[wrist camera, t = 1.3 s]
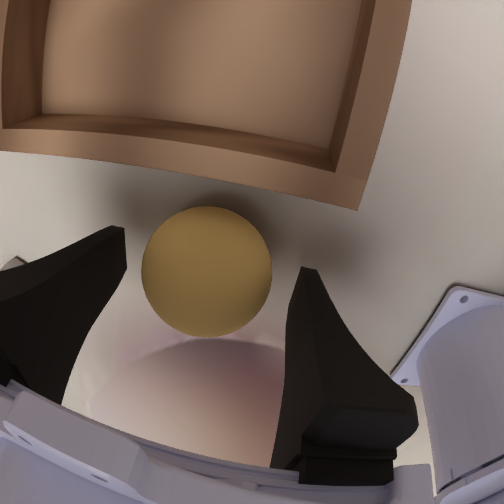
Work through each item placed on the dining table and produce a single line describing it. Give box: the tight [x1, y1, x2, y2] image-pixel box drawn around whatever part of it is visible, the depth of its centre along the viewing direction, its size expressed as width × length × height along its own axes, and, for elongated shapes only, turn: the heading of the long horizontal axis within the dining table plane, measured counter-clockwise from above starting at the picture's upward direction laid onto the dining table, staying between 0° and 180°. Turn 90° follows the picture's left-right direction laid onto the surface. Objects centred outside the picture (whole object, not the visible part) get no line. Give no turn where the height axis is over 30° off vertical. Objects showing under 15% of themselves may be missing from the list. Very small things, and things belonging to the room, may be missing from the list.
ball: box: [141, 206, 272, 337], centre depth 12 cm, size 5×5×5 cm
